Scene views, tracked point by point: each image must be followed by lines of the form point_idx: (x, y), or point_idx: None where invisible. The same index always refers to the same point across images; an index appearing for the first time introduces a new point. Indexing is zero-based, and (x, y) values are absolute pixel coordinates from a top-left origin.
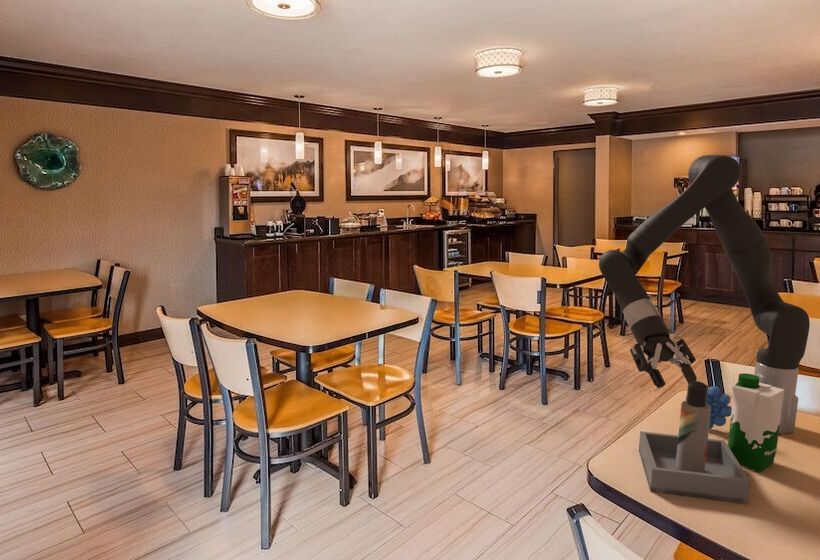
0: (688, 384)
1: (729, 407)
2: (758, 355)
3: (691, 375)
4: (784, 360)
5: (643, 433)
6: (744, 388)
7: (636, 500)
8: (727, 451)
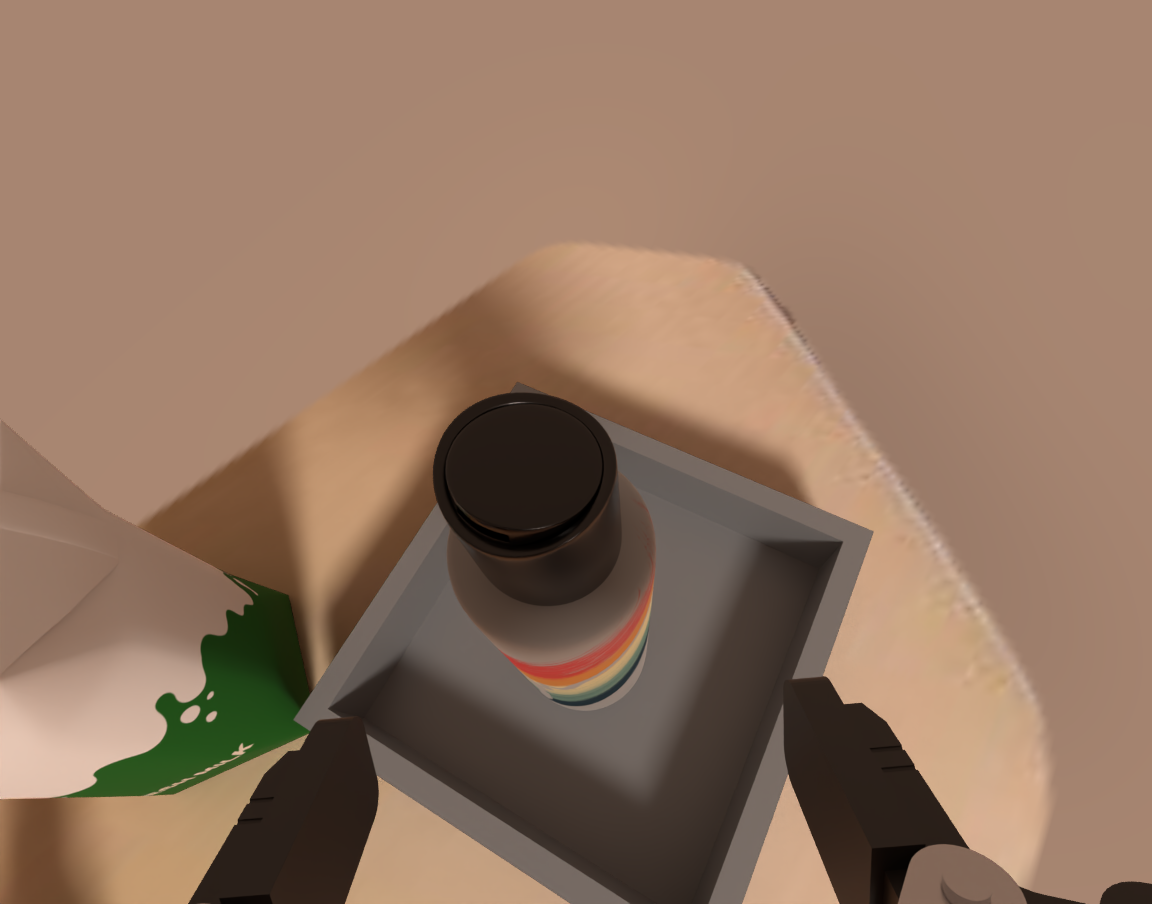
0: (607, 500)
1: None
2: None
3: (336, 766)
4: None
5: None
6: None
7: (929, 521)
8: (390, 605)
